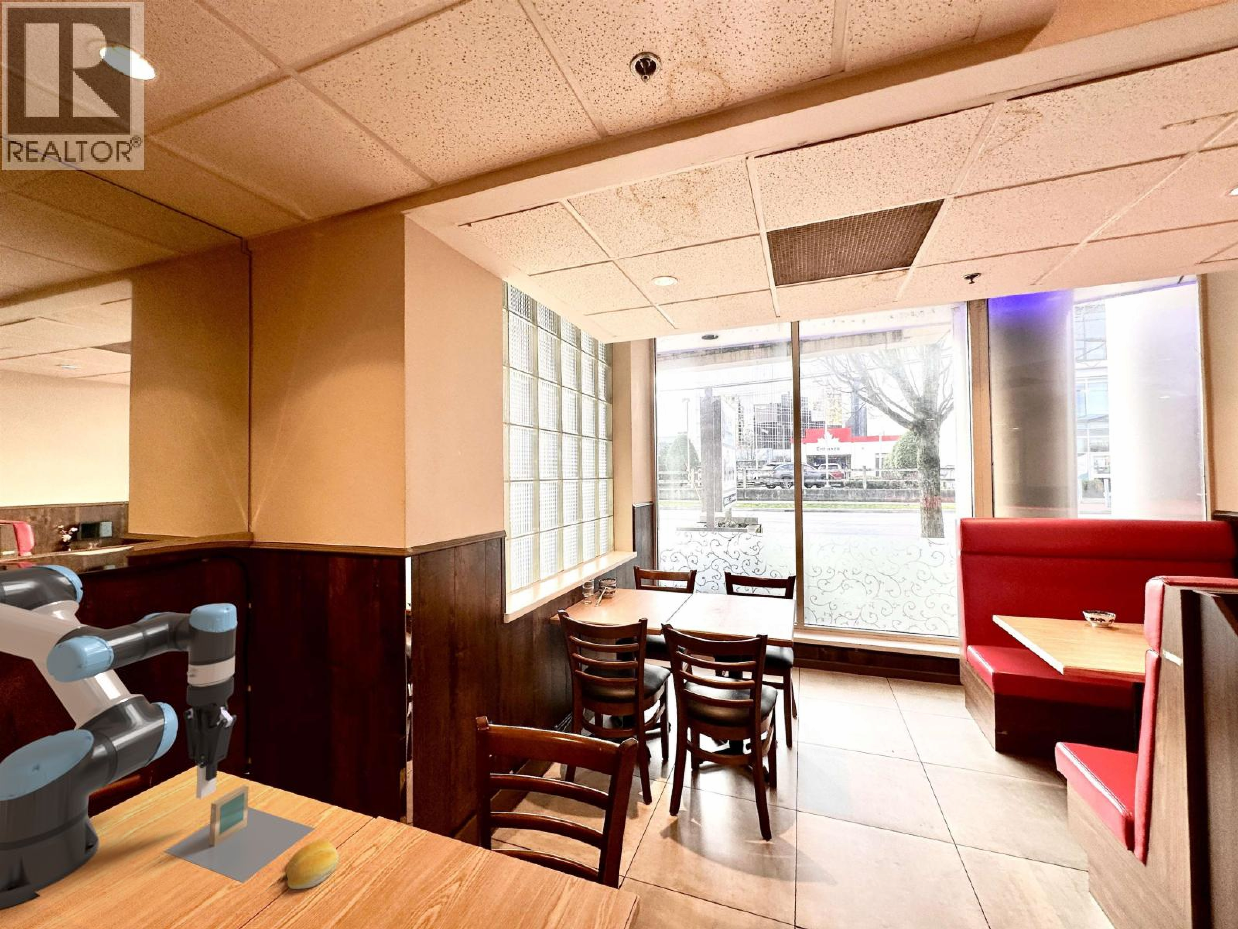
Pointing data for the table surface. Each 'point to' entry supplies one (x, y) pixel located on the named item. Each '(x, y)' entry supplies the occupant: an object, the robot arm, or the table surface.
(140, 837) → the table surface
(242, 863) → the slate board
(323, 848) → the bread roll
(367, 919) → the table surface
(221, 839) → the light wood flat block
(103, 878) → the table surface
